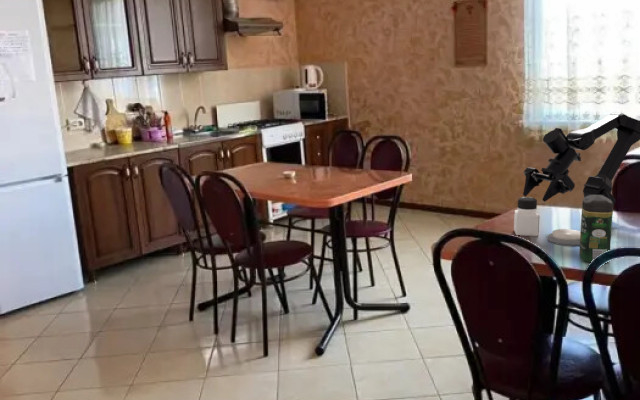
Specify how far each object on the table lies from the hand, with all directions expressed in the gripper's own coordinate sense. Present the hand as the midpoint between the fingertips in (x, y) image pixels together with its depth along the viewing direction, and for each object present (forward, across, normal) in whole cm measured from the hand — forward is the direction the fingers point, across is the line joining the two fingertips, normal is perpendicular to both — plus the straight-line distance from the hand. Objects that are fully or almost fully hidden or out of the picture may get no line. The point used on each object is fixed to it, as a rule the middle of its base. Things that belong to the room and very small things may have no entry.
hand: (533, 198), depth 207 cm
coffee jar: (+12, -31, -5) cm, 34 cm away
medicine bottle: (+10, 0, -7) cm, 12 cm away
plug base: (+6, -13, -10) cm, 18 cm away
